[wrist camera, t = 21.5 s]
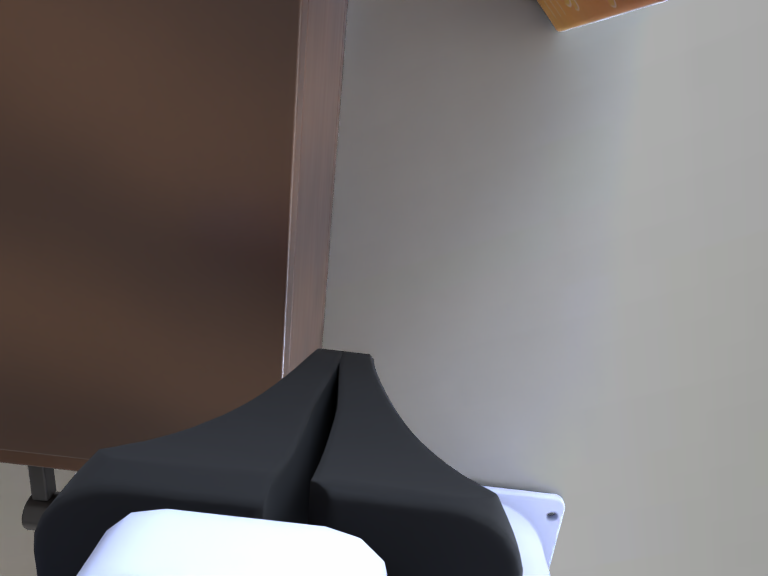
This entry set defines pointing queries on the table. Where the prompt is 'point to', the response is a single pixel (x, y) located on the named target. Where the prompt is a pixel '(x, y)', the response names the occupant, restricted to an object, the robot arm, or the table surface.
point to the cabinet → (160, 210)
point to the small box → (588, 10)
